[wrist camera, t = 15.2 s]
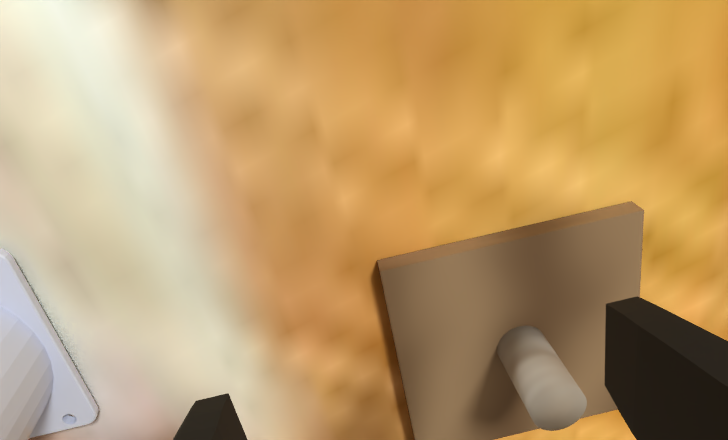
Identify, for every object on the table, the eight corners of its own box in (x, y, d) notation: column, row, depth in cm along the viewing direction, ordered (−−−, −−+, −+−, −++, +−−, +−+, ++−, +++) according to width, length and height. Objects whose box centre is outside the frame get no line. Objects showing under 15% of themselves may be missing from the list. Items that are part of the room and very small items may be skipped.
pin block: (415, 443, 25) (438, 531, 21) (377, 260, 20) (397, 330, 17) (624, 392, 25) (684, 470, 21) (631, 201, 21) (710, 256, 17)
